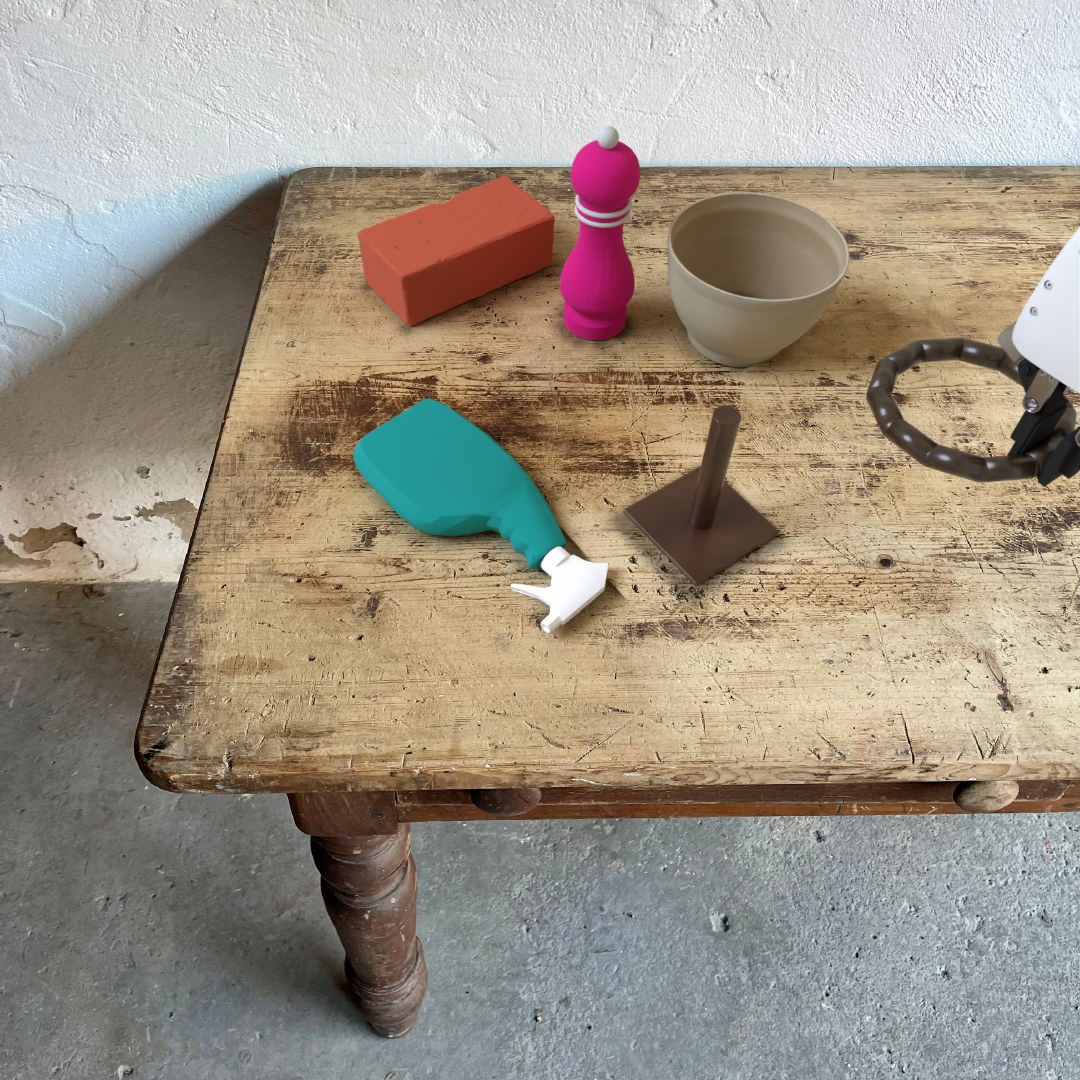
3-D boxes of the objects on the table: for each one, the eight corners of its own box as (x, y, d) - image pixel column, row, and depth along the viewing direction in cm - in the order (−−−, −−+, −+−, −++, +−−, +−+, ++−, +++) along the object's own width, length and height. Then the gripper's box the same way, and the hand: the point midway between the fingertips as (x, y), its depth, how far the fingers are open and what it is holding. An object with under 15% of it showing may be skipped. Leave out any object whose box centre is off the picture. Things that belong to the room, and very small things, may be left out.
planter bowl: (681, 404, 82) (699, 309, 74) (636, 296, 92) (647, 200, 83) (844, 382, 84) (880, 287, 76) (783, 278, 94) (809, 183, 85)
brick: (408, 328, 88) (402, 277, 84) (364, 281, 93) (355, 231, 88) (554, 265, 95) (556, 214, 90) (506, 224, 99) (505, 174, 94)
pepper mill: (554, 340, 88) (560, 146, 72) (563, 294, 92) (570, 102, 76) (627, 348, 87) (650, 154, 71) (632, 301, 91) (655, 108, 75)
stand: (776, 539, 73) (818, 426, 63) (693, 592, 70) (723, 482, 59) (703, 472, 77) (730, 355, 67) (622, 518, 74) (637, 403, 64)
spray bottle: (441, 409, 82) (636, 573, 71) (343, 469, 77) (536, 654, 67) (439, 385, 79) (640, 552, 69) (337, 446, 75) (536, 634, 64)
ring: (1109, 430, 60) (1121, 412, 59) (983, 517, 55) (993, 500, 54) (950, 328, 67) (958, 311, 65) (825, 399, 62) (831, 381, 61)
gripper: (1412, 259, 41) (1183, 514, 55) (1105, 119, 49) (976, 374, 63) (1330, 320, 38) (1112, 571, 53) (1019, 161, 46) (904, 417, 61)
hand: (1038, 462), depth 58 cm, fingers closed on ring, 1 cm apart
